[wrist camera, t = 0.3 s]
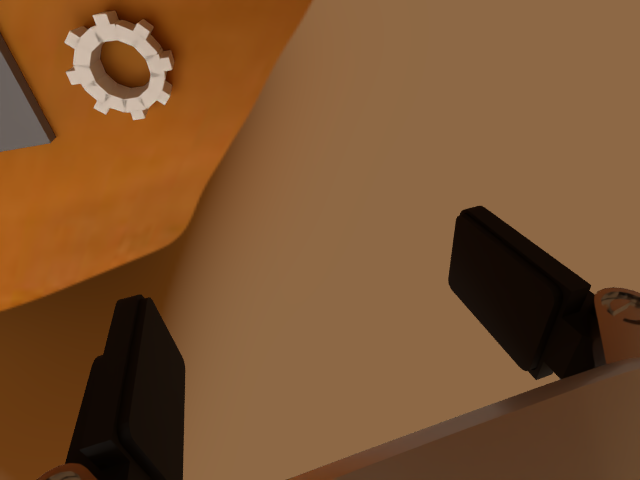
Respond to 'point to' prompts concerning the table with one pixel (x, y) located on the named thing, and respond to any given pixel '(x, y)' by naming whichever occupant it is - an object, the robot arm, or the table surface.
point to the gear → (100, 83)
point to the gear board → (19, 108)
